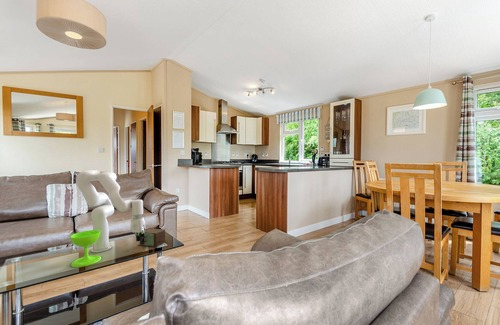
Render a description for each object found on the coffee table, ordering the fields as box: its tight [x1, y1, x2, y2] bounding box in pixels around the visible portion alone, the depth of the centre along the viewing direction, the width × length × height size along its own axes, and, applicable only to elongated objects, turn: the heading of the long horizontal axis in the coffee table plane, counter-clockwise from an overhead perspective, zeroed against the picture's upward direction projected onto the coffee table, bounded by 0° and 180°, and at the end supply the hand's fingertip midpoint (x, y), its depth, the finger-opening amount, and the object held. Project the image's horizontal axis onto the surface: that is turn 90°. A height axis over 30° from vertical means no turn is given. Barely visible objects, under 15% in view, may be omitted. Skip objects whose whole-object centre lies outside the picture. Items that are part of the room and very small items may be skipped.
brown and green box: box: [137, 227, 166, 249], centre depth 175 cm, size 16×12×10 cm
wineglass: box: [69, 229, 102, 268], centre depth 146 cm, size 16×16×18 cm
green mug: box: [139, 233, 155, 247], centre depth 167 cm, size 8×6×9 cm
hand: (138, 240), depth 167 cm, fingers closed
